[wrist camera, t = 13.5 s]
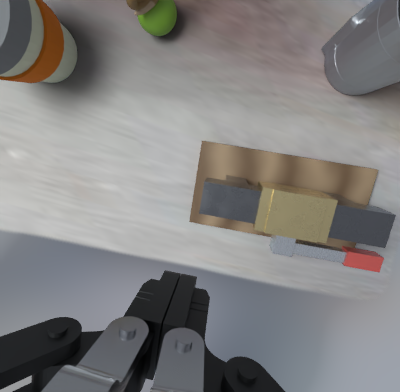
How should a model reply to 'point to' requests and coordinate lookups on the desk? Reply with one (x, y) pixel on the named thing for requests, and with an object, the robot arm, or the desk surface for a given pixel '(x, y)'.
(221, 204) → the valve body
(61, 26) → the reusable coffee cup
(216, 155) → the base board
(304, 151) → the desk surface
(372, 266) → the valve lever
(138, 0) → the snail figurine
